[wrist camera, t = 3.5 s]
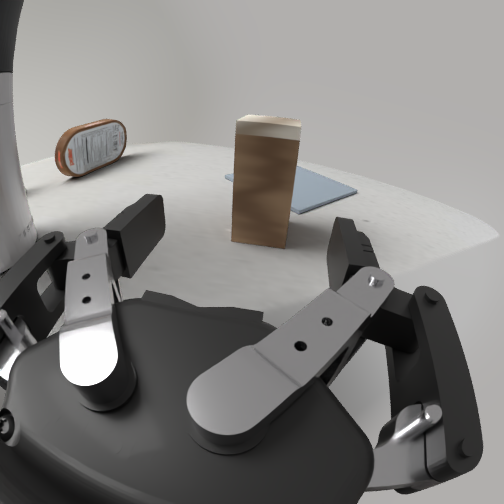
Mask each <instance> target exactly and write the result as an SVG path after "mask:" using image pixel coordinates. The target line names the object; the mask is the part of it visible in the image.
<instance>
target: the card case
mask: <svg viewBox="0 0 504 504" xmlns="http://www.w3.org/2000/svg"><path fill="white" fill-rule="evenodd" d="M300 134H301V121H300V120H297V119H288V118H281V117H271V116H260V115H246V116H244V117H242V118H240V119H238V120H237V121H236V136H235V156H234V179H233V205H232V236H231V241H232V242H240V243H247V244H254V245H261V246H268V247H275V248H282V249H285V244H286V237H287V231H288V224H289V217H290V210H291V203H292V196H293V189H294V182H295V174H296V166H297V159H298V149H299V142H300Z"/></svg>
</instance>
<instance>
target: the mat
mask: <svg viewBox="0 0 504 504" xmlns="http://www.w3.org/2000/svg"><path fill="white" fill-rule="evenodd" d="M225 178H226V179H228V180H230V181H232V182H233V179H234V173H233V174H228V175H225ZM355 193H357V190H356V189H354V188H351V187H349V186H347V185H344V184H342V183H340V182H337V181H335V180H332V179H330V178H327V177H325V176H322V175H320V174H317V173H315V172H312V171H309V170H307V169H304V168H301V167H299V166H296V174H295V182H294V189H293V196H292V203H291V210H292V211H294V212H296V213H298V214H300V213H303V212H305V211H308V210H311V209H313V208H316V207H319V206H322V205H324V204H327V203H330V202H332V201H335V200H338V199H341V198H343V197H346V196H349V195H352V194H355Z"/></svg>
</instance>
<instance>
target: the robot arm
mask: <svg viewBox="0 0 504 504" xmlns="http://www.w3.org/2000/svg"><path fill="white" fill-rule="evenodd" d="M23 2H24V0H0V273H2V272H4V271H6V270H7V269H9V268H10V267H11V268H10V269H9V271H8V272H7V273H6V274H5V275H4V276H3V277H2V278H1V279H0V386H1V387H2V388H3V389H5V390H6V394H5V399H4V402H3V406H2V409H1V411H0V504H357V503H358V501H359V499H360V497H361V496H362V495H363V493H364V492H367V491H381V490H390V489H394V490H395V491H397V492H398V493H400V494H411V493H414V492H417V491H421V490H424V489H427V488H429V487H432V486H435V485H438V484H441V483H443V482H446V481H448V480H451V479H453V478H456V477H458V476H460V475H463V474H465V473H467V472H469V471H471V470H473V469H474V468H475V467H476V466H477V464H478V463H479V461H480V459H481V457H482V453H483V440H482V432H481V426H480V419H479V414H478V408H477V403H476V399H475V393H474V389H473V385H472V381H471V377H470V373H469V369H468V366H467V362H466V359H465V355H464V352H463V349H462V346H461V342H460V340H459V337H458V334H457V331H456V328H455V325H454V322H453V320H452V317H451V314H450V312H449V309H448V307H447V304H446V302H445V300H444V298H443V296H442V295H441V294H440V293H438V292H437V291H436V290H434V289H433V288H430V287H427V286H419V287H417V288H416V289H415V291H414V293H413V295H412V294H409V293H407V292H404V291H401V290H399V289H397V288H395V287H394V280H393V278H392V277H391V276H390V275H389V274H388V273H387V272H385V271H384V270H382V269H380V267H379V264H378V262H377V259H376V256H375V253H374V251H373V248H372V245H371V243H370V240H369V238H368V237H367V236H366V235H365V234H364V233H363V232H359V231H357V230H356V227H355V224H354V221H353V220H352V219H346V218H340V217H336V219H335V222H334V226H333V230H332V234H331V238H330V242H329V246H328V251H327V266H328V276H329V286H330V288H328V289H326V290H325V291H324V292H323V293H321V294H320V295H319V296H318V297H317V298H315V299H314V300H313V301H312V302H311V303H309V304H308V305H307V306H306V307H304V308H303V309H302V310H300V311H299V312H298V313H297V314H296V315H294V316H293V317H292V318H291V319H289V320H288V321H286V322H285V323H284V324H283V325H281V326H280V327H279V328H276V327H274V326H272V325H270V324H268V323H266V322H263V321H262V320H263V312H260V311H254V310H248V309H241V308H235V307H197V306H195V305H192V304H190V303H188V302H185V301H183V300H181V299H178V298H176V297H174V296H171V295H166V294H162V293H157V292H152V291H148V290H146V291H145V293H144V295H143V296H142V298H135V299H128V300H124V301H123V297H122V292H121V286H120V282H119V277H120V276H122V277H127V278H132V276H133V275H134V274H135V272H136V271H137V270H138V268H139V267H140V266H141V264H142V263H143V262H144V260H145V259H146V258H147V256H148V255H149V254H150V252H151V251H152V250H153V249H154V247H155V246H156V245H157V243H158V242H159V241H160V240H161V238H162V237H163V235H164V233H165V215H164V204H163V198H162V196H161V195H154V194H145V195H144V196H143V197H142V198H140V199H139V200H138V201H137V202H136V203H134V204H132V205H130V206H128V207H127V208H125V209H124V210H123V211H122V212H121V213H120V214H118V215H117V216H116V218H114V219H113V220H112V221H110V222H109V223H108V224H107V225H106V226H105V227H104V228H103V229H102V228H93V229H89V230H86V231H84V232H83V233H81V234H80V235H79V236H78V237H77V239H76V241H71V242H65V239H64V235H63V233H62V232H58V231H56V232H51V233H48V234H46V235H45V236H43V237H42V238H41V239H39V240H38V241H37V242H36V239H37V232H36V229H35V226H34V223H33V218H32V215H31V212H30V208H29V205H28V200H27V196H26V192H25V188H24V183H23V179H22V174H21V169H20V163H19V157H18V151H17V143H16V135H15V126H14V113H13V93H12V92H13V74H12V73H13V57H14V50H15V42H16V34H17V27H18V22H19V18H20V13H21V9H22V6H23ZM35 242H36V243H35ZM46 270H47V272H48V274H49V276H50V279H51V281H52V283H51V284H50V285H49V286H48V288H47V289H46V290H45V291H44V293H43V294H42V295H41V296H40V295H39V293H38V291H37V281H38V279H39V278H40V277H41V275H42V274H43V273H44V272H45V271H46ZM63 312H64V325H63V326H61V327H60V331H59V332H57V333H55V334H53V335H51V336H49V337H47V336H48V334H49V333H50V331H51V330H52V328H53V327H54V325H55V324H56V322H57V321H58V319H59V318H60V316H61V315H62V313H63ZM46 337H47V338H46ZM367 339H369V340H372V341H375V342H378V343H380V344H383V345H385V349H386V357H387V366H388V376H389V387H390V400H391V402H390V403H391V420H390V421H389V422H387V423H386V424H385V425H384V426H383V427H382V429H381V431H380V434H379V439H378V443H377V445H376V447H375V449H373V448H372V445H371V443H370V441H369V439H368V438H367V436H366V434H365V433H364V432H363V431H362V429H361V428H360V427H359V426H358V425H357V423H356V422H355V421H354V419H353V418H352V417H351V416H350V415H349V413H348V412H347V411H346V409H345V408H344V407H343V406H342V404H341V403H340V402H339V401H338V399H337V398H336V397H335V395H334V394H333V393H332V392H331V390H330V389H329V388H328V387H329V386H330V385H331V383H332V382H333V381H334V380H335V378H336V377H337V376H338V374H339V373H340V372H341V370H342V369H343V368H344V367H345V365H346V364H347V363H348V362H349V361H350V360H351V358H352V357H353V356H354V355H355V353H356V352H357V351H358V350H359V349H360V347H361V346H362V344H363V343H364V342H365V341H366V340H367Z"/></svg>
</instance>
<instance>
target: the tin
mask: <svg viewBox="0 0 504 504" xmlns="http://www.w3.org/2000/svg"><path fill="white" fill-rule="evenodd" d="M126 140H127V135H126V129H125V127H124V125H123V124H122V123H121V122H120V121H117V120H110V119H103V120H99V121H96V122H92V123H88V124H84V125H80V126H77V127H73V128H71V129H69V130H67V131H66V132H65V133H64V134H63V135H62V136H61V138H60V139H59V141H58V143H57V146H56V150H55V162H56V165H57V167H58V169H59V171H60V172H61V173H63V174H64V175H67V176H73V177H81V176H84V175H86V174H88V173H90V172H93V171H95V170H97V169H99V168H102V167H104V166H107V165H109V164H112V163H114V162H116V161H117V160H118V159H119V158H120V157H121V156H122V154H123V152H124V150H125V147H126Z"/></svg>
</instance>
